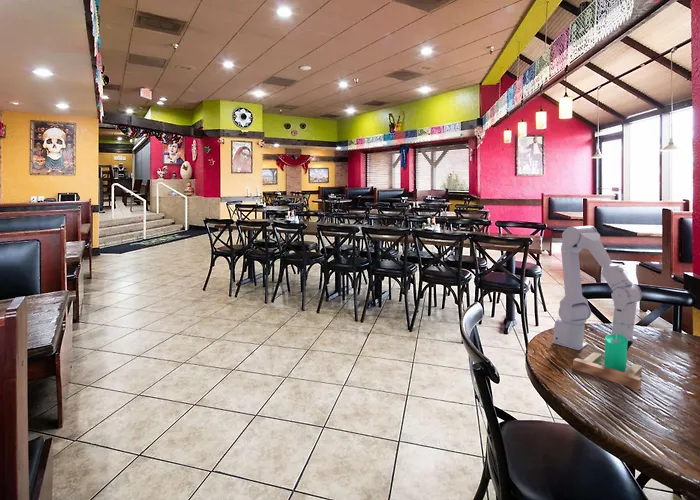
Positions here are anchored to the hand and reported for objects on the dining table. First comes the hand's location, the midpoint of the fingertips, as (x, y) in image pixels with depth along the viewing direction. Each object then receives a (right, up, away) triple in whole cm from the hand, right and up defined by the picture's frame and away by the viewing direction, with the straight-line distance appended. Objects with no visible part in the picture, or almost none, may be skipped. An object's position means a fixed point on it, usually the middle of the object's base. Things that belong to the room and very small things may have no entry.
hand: (618, 361), depth 134 cm
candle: (-3, -1, -2) cm, 3 cm away
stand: (-6, -2, -5) cm, 8 cm away
